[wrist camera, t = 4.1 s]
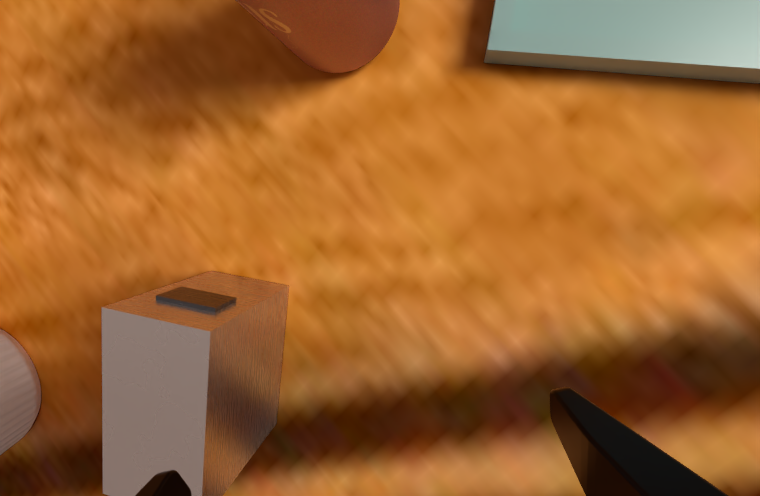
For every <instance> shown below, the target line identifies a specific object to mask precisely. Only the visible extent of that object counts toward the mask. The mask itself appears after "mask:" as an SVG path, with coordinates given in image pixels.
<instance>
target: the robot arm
mask: <svg viewBox="0 0 760 496" xmlns="http://www.w3.org/2000/svg"><path fill="white" fill-rule="evenodd" d="M550 414H551V419H552V422H553V425H554V427H555V430H556V432H557V434H558V436H559V438H560V440H561V443H562V445H563V447H564V449H565V451H566V453H567V456H568V458H569V460H570V462H571V464H572V467H573V469H574V471H575V473H576V475H577V477H578V480H579V482H580V484H581V486H582V488H583V490H584V492H585V494H586V496H728V495H727V494H725V493H724V492H722V491H721V490H719V489H718V488H716V487H715V486H713V485H712V484H710V483H709V482H708V481H706V480H705V479H703V478H702V477H700V476H699V475H697V474H696V473H694V472H693V471H691V470H690V469H689V468H687V467H686V466H684V465H683V464H681V463H680V462H678V461H677V460H675V459H674V458H672V457H671V456H669V455H668V454H667V453H665V452H664V451H662V450H661V449H659V448H658V447H656V446H655V445H653V444H652V443H650V442H649V441H648V440H646V439H645V438H643V437H642V436H640V435H639V434H637V433H636V432H634V431H633V430H631V429H630V428H628V427H627V426H626V425H624V424H623V423H621V422H620V421H618V420H617V419H615V418H614V417H612V416H611V415H609V414H608V413H607V412H605V411H604V410H602V409H601V408H599V407H598V406H596V405H595V404H593V403H592V402H590V401H589V400H587V399H586V398H585V397H583V396H582V395H580V394H579V393H577V392H576V391H574V390H573V389H571V388H569V387H563V388H558V389H554V390H551V392H550ZM135 496H192V495H191V490H190V488H189V486H188V485H187V484H186V482H185V481H184V480H183V478H182V477H181V476H180V474H179V473H178V472H177V471H176V470H169V471H164V472H160V473H158V474H156V475H155V476H153V477H152V478H151V479H150V480H149V482H148V483H147V484H146V485H145V486H144V487H143V488H142V489H141V490H140V491H139V492H138V493H137V494H136V495H135Z"/></svg>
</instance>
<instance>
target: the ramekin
mask: <svg viewBox="0 0 760 496" xmlns="http://www.w3.org/2000/svg"><path fill="white" fill-rule="evenodd" d="M40 404H41V386H40V380H39V377H38V374H37V371H36V368H35V366H34V364H33V362H32V360H31V359H30V357H29V355H28V354H27V352H26V351H25V349H24V348H23V347H22V346H21V345H20V343H19V342H18V341H17V340H16V339H14V338H13V337H12V336H11V335H10V334H8V333H7V332H5V331H4V330H2V329H0V455H1V454H2V453H4V452H5V451H6V450H8V449H9V448H10V447H12V446H13V445H14V444H15V443H17V442H18V441H19V440H20V439H21V438H23V437H24V436H25V435H26V434H27V432H28V431H29V430H30V428H31V427H32V425H33V423H34V421H35V419H36V417H37V415H38V412H39V408H40Z"/></svg>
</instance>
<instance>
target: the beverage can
mask: <svg viewBox="0 0 760 496" xmlns="http://www.w3.org/2000/svg"><path fill="white" fill-rule="evenodd" d="M236 1H237V2H238V3H239V4H240V5H241V6H242V7H243V8H244V9H246V10H247V11H248V12H249V13H250V14H251V15H252V16H253V17H254V18H256V19H257V20H258V21H259V22H260V23H261V24H262V25H263V26H264V27H266V28H267V29H268V30H269V31H270V32H271V33H272V34H273V35H274V36H276V37H277V38H278V39H279V40H280V41H281V42H282V43H283V44H284V45H285V46H287V47H288V48H289V49H290V50H291V51H292V52H293V53H294V54H295V55H297V56H298V57H299V58H300V59H301V60H302V61H303V62H305V63H306V64H308V65H309V66H311V67H313V68H315V69H317V70H320V71H323V72H329V73H343V72H348V71H352V70H355V69H357V68H360V67H361V66H363V65H365V64H367V63H368V62H370V61H371V60H372V59H373V58H374V57H376V56H377V55H378V54H379V53H380V51H381V50H382V49H383V48H384V46H385V45H386V44H387V42H388V40H389V39H390V37H391V35H392V33H393V30H394V28H395V25H396V22H397V18H398V13H399V0H236Z"/></svg>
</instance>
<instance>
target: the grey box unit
mask: <svg viewBox="0 0 760 496" xmlns="http://www.w3.org/2000/svg"><path fill="white" fill-rule="evenodd" d="M288 291H289V286H287V285H282V284H277V283H272V282H267V281H262V280H256V279H251V278H246V277H241V276H236V275H231V274H225V273H220V272H215V271H210V272H207V273H204V274H201V275H198V276H195V277H192V278H189V279H186V280H183V281H180V282H177V283H173V284H170V285H167V286H164V287H161V288H158V289H155V290H152V291H149V292H146V293H143V294H140V295H137V296H134V297H131V298H128V299H125V300H122V301H119V302H116V303H113V304H110V305H107V306H104V307H102V440H103V494H106V495H109V496H135V495H136V494H137V493H138V492H139V491H140V490H141V489H142V488H143V487H144V486H145V485H146V484H147V483H148V482H149V480H150V479H151V478H152V477H153V476H155V475H156V474H158V473H160V472H164V471H169V470H176V471H177V472H178V473H179V474H180V476H181V477H182V478H183V480H184V481H185V482H186V484H187V485H188V486H189V488H190V490H191V495H192V496H223V494H224V493H225V492H226V490H227V489H228V488H229V486H230V485H231V484H232V482H233V481H234V480H235V478H236V477H237V476H238V474H239V473H240V472H241V470H242V469H243V468H244V466H245V465H246V464H247V462H248V461H249V460H250V458H251V457H252V455H253V454H254V453H255V451H256V450H257V449H258V447H259V446H260V445H261V443H262V442H263V441H264V439H265V438H266V437H267V435H268V434H269V433H270V431H271V430H272V429H273V427H274V426H275V425H276V422H277V411H278V400H279V389H280V379H281V368H282V357H283V346H284V335H285V324H286V313H287V302H288Z"/></svg>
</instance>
